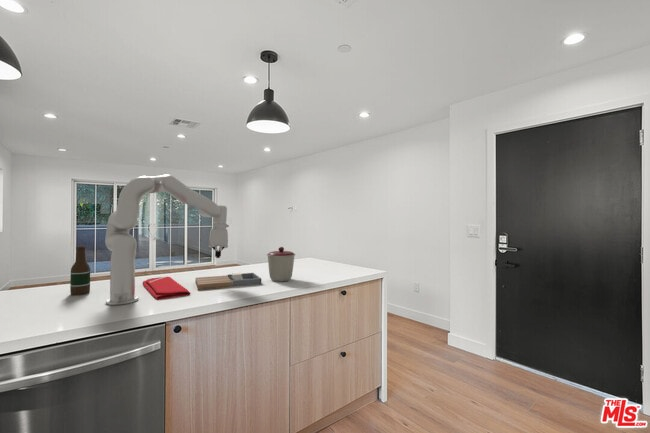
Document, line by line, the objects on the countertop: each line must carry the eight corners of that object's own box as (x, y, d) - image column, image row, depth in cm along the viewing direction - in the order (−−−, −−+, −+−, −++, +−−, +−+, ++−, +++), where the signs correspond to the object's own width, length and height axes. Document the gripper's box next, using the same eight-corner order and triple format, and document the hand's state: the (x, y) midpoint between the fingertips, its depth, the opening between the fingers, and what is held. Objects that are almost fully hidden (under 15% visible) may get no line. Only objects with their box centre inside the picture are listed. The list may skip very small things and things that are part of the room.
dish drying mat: (155, 301, 143) (155, 293, 143) (141, 285, 175) (141, 278, 175) (190, 295, 153) (190, 288, 153) (171, 281, 185) (171, 275, 185)
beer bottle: (78, 296, 148) (79, 247, 148) (66, 295, 150) (66, 246, 150) (93, 292, 156) (94, 245, 156) (81, 291, 157) (82, 245, 158)
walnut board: (232, 287, 171) (232, 281, 171) (198, 290, 163) (198, 284, 163) (226, 280, 189) (226, 275, 189) (195, 282, 181) (195, 277, 181)
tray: (261, 284, 179) (261, 278, 179) (233, 286, 171) (233, 280, 171) (253, 278, 196) (253, 272, 196) (227, 280, 189) (227, 274, 189)
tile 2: (243, 282, 181) (243, 278, 181) (234, 283, 179) (234, 278, 179) (241, 280, 185) (241, 276, 185) (232, 281, 183) (233, 277, 183)
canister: (267, 283, 180) (267, 248, 180) (265, 277, 198) (266, 245, 198) (297, 282, 185) (297, 248, 185) (293, 276, 202) (293, 245, 202)
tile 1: (241, 278, 180) (241, 274, 180) (232, 279, 178) (232, 274, 178) (240, 276, 185) (240, 272, 185) (231, 277, 183) (231, 273, 183)
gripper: (231, 226, 184) (229, 257, 183) (205, 225, 177) (203, 257, 177) (233, 227, 177) (232, 258, 177) (206, 226, 171) (204, 258, 170)
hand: (217, 257), depth 177 cm, fingers closed
